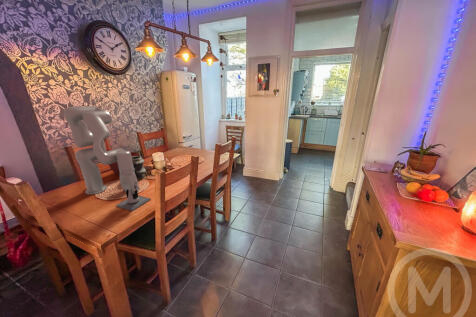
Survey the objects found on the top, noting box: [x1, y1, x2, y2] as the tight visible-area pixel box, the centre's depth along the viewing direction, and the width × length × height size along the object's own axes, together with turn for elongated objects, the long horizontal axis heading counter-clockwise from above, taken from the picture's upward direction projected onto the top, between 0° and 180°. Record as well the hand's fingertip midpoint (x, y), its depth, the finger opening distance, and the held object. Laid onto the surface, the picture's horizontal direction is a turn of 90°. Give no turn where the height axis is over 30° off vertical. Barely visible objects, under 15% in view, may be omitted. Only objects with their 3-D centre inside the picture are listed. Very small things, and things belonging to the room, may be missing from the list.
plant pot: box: [108, 151, 140, 176], centre depth 159 cm, size 19×19×17 cm
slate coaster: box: [115, 194, 152, 212], centre depth 116 cm, size 14×14×1 cm
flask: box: [126, 190, 140, 203], centre depth 114 cm, size 7×7×10 cm
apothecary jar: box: [132, 155, 147, 181], centre depth 150 cm, size 12×12×18 cm
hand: (132, 197), depth 115 cm, fingers closed on flask, 5 cm apart
